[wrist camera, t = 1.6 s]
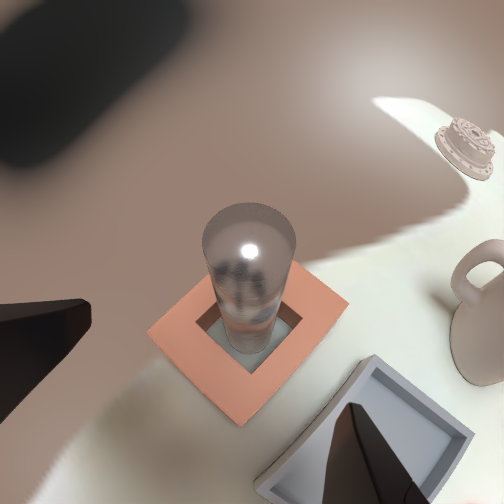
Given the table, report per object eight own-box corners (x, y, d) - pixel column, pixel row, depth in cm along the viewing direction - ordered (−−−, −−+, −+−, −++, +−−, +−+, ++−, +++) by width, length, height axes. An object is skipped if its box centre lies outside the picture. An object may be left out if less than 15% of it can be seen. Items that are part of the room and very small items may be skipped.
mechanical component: (468, 187, 28) (497, 176, 30) (484, 163, 24) (511, 156, 26) (421, 135, 33) (457, 131, 35) (432, 110, 29) (467, 111, 31)
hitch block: (242, 424, 17) (240, 427, 14) (159, 343, 19) (145, 332, 17) (336, 317, 20) (349, 303, 18) (255, 252, 23) (255, 231, 20)
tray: (367, 547, 11) (379, 559, 9) (253, 481, 14) (254, 491, 12) (455, 434, 15) (475, 433, 13) (361, 360, 19) (374, 354, 16)
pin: (250, 363, 19) (252, 301, 8) (218, 333, 20) (183, 241, 9) (279, 331, 20) (314, 236, 9) (248, 304, 21) (246, 189, 10)
